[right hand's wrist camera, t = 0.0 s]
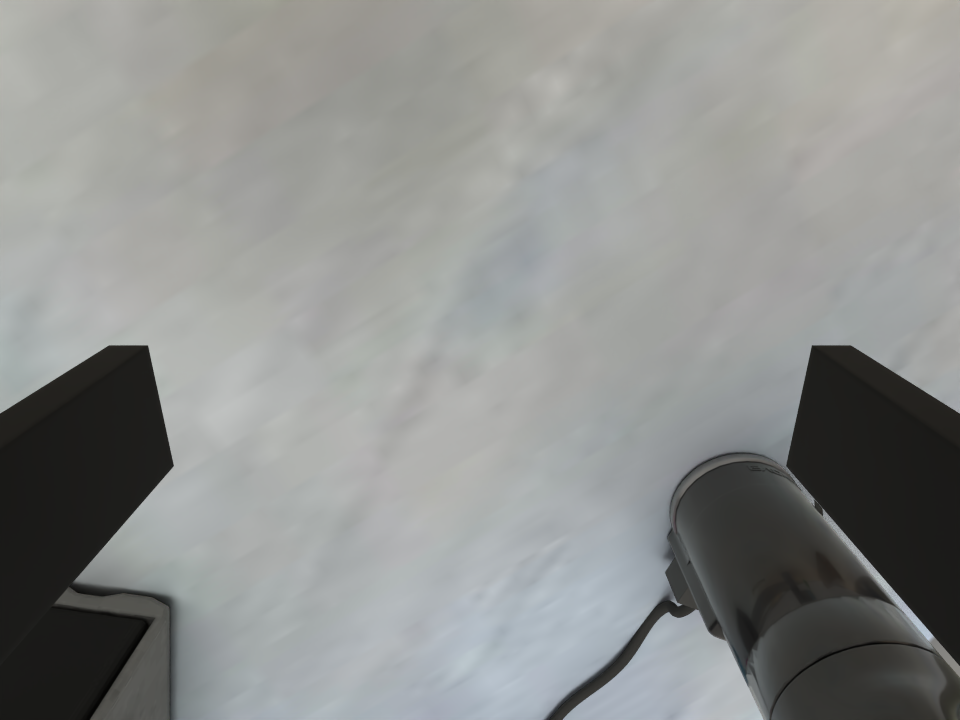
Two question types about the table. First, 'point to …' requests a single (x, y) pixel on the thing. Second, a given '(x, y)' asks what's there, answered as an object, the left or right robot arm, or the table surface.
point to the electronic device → (91, 662)
